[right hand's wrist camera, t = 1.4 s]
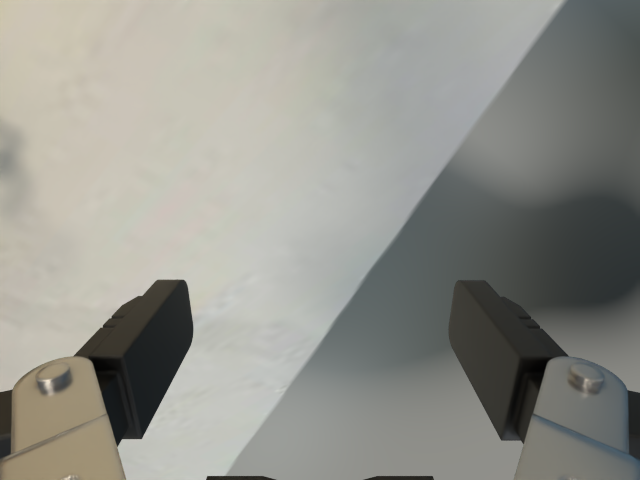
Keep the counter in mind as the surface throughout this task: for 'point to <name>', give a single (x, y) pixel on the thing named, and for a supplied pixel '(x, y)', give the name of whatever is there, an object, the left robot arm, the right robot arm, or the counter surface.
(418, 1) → the counter surface
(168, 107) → the counter surface
